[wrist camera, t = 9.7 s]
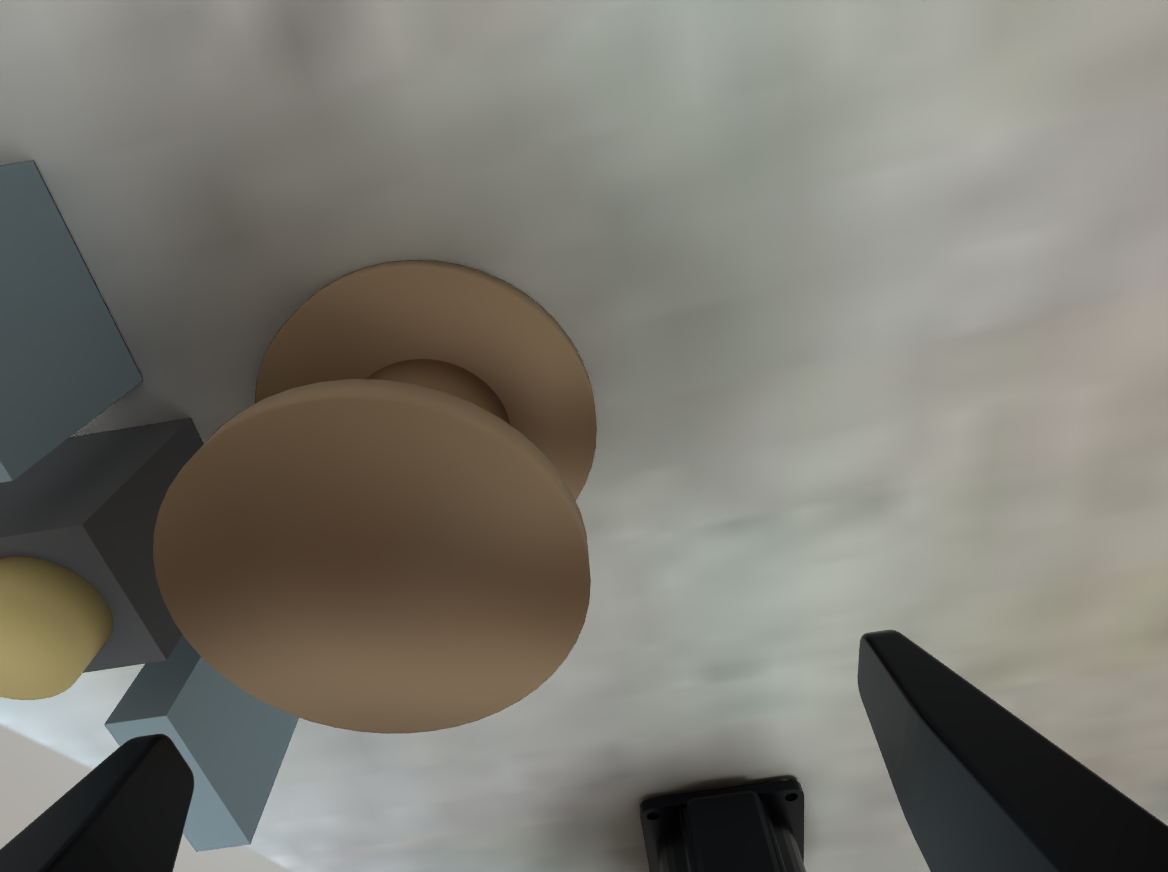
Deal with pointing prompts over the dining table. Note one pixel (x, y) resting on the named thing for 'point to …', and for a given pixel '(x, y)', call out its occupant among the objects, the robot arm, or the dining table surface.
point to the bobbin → (391, 507)
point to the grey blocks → (50, 416)
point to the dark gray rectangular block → (86, 558)
